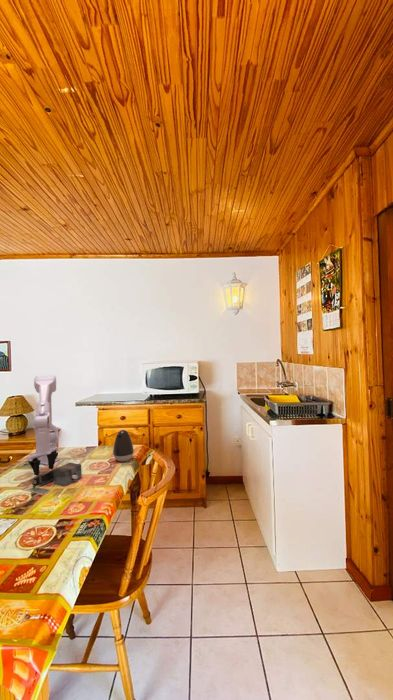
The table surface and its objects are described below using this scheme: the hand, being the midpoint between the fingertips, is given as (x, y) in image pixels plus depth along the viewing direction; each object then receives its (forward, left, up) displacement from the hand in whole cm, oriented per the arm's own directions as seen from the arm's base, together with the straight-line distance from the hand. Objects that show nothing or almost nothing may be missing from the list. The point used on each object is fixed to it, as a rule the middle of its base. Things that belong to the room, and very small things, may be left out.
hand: (44, 471), depth 143 cm
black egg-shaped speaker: (+21, +30, -2) cm, 37 cm away
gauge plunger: (+13, -2, -2) cm, 14 cm away
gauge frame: (+11, -5, -2) cm, 12 cm away
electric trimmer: (+5, -1, -3) cm, 6 cm away
